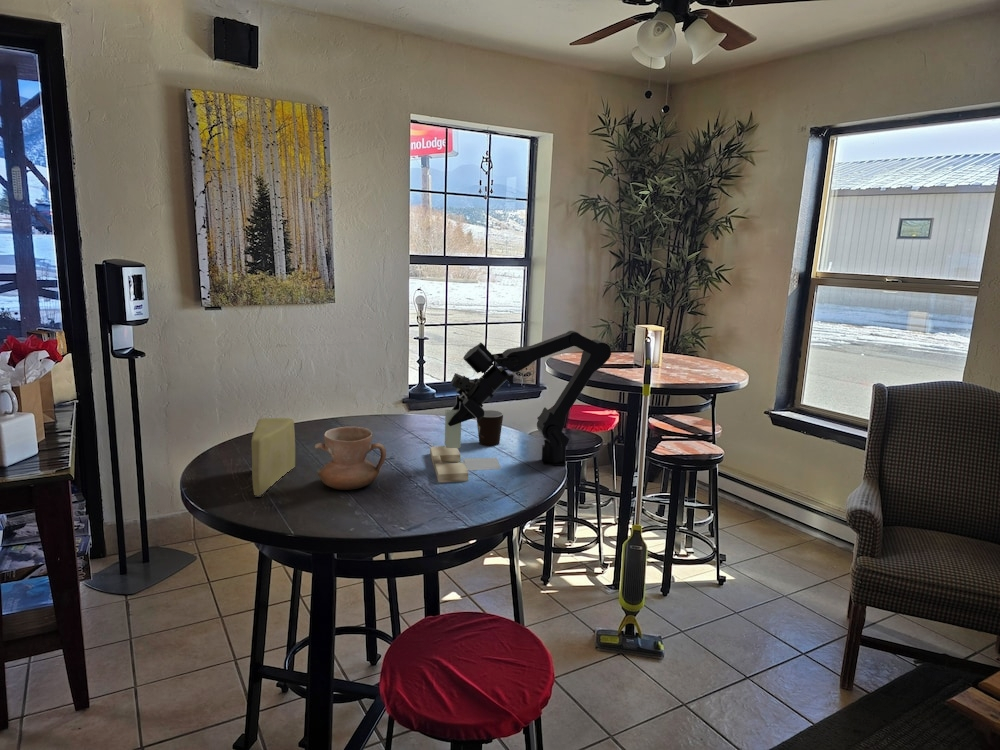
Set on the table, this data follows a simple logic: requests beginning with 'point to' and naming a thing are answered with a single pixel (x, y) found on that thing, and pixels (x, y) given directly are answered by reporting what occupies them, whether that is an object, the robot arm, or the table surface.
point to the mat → (482, 464)
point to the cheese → (272, 452)
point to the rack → (448, 464)
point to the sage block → (452, 431)
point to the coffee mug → (490, 428)
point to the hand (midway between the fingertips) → (448, 422)
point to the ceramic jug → (349, 458)
